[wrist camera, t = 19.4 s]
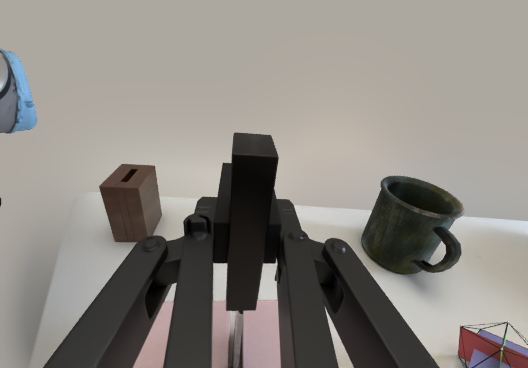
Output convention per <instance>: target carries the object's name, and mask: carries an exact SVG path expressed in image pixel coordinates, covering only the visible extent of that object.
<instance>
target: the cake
mask: <svg viewBox="0 0 528 368" xmlns="http://www.w3.org/2000/svg"><path fill="white" fill-rule="evenodd" d="M173 303H174V301H171V302H164V303H163V305H162V307H161V309H160V311H159V313H158V315H157V317H156V320H155V322H154V324H153V326H152V328H151V330H150V332H149V334H148V337H147V339H146V341H145V343H144V345H143V347H142V349H141V351H140V354H139V356H138V358H137V360H136V362H135V364H134V366H133V368H163V364H164V358H165V352H166V346H167V340H168V334H169V327H170V321H171V315H172V309H173ZM229 329H230V311H226V301H213V332H212V368H228V353H229Z"/></svg>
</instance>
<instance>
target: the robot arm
mask: <svg viewBox="0 0 528 368" xmlns="http://www.w3.org/2000/svg"><path fill="white" fill-rule="evenodd" d="M32 101H33V100H32V95H31V91H30V88H29V84H28V81H27V78H26V75H25V72H24V69H23V66H22V63H21V61H20V59H19V58H18V56H17V55H16V54H15V53H13V52H10V51H5V50H2V49H0V133H13V132H15V131H23V130H30V129H32V128H34V127H35V125H36V123H37V117H36V111H35V107H34V104H33V102H32ZM231 164H232V163H223V165H222V172H221V178H220V184H219V191H218V197H202V198H201V199H200V200H198V201H197V205H196V208H195V213H194V214H192V215H189V216H188V217H187V218H185V220H184V222H183V223H184V236H183V237H181V238H179V239H175V240H171V241H166V239H165V238H163V237H161V236H149V237H145V238H143V239H141V240H140V241H139V242H138V243H137V244H136V245H135V246H134V248H133V249H132V250H131V252H130V253H129V254H128V256H127V257H126V258H125V260H124V261H123V262H122V264H121V265H120V266H119V268H118V269H117V270H116V272H115V273H114V274H113V275H112V277H111V278H110V279H109V281H108V282H107V283H106V285H105V286H104V287H103V289H102V290H101V291H100V293H99V294H98V295H97V297H96V298H95V299H94V301H93V302H92V303H91V305H90V306H89V307H88V309H87V310H86V311H85V313H84V314H83V315H82V317H81V318H80V319H79V320H78V322H77V323H76V324H75V326H74V327H73V328H72V330H71V331H70V332H69V334H68V335H67V336H66V338H65V339H64V340H63V342H62V343H61V344H60V346H59V347H58V348H57V350H56V351H55V352H54V354H53V355H52V356H51V358H50V359H49V360H48V362H47V363H46V364H45V366H44V367H43V368H133V366H134V364H135V362H136V360H137V358H138V356H139V354H140V351H141V349H142V347H143V345H144V343H145V341H146V339H147V337H148V334H149V332H150V330H151V328H152V326H153V324H154V322H155V320H156V317H157V315H158V313H159V311H160V309H161V307H162V305H163V303H164V300H165V298H166V296H167V294H168V292H169V290H170V288H171V285H172V284H174V283H177V285H176V291H175V297H174V303H173V309H172V315H171V321H170V327H169V334H168V340H167V346H166V352H165V358H164V364H163V368H212V332H213V262H214V263H228V239H229V214H230V189H231ZM276 257H277V263H278V265H277V270H276V275H275V280H274V281H277V296H278V317H279V338H280V359H281V368H339V367H338V363H337V359H336V354H335V350H334V345H333V341H332V337H331V332H330V328H329V324H328V319H327V315H326V311H325V307H326V309H327V312H328V314H329V316H330V318H331V320H332V322H333V324H334V326H335V328H336V330H337V333H338V335H339V337H340V339H341V341H342V343H343V345H344V347H345V349H346V351H347V354H348V356H349V358H350V360H351V362H352V364H353V366H354V368H439V366H438V365H437V364H436V362H435V361H434V359H433V358H432V357H431V355H430V354H429V353H428V351H427V350H426V349H425V347H424V346H423V345H422V343H421V342H420V341H419V339H418V338H417V336H416V335H415V334H414V332H413V331H412V330H411V328H410V327H409V326H408V324H407V323H406V322H405V320H404V319H403V317H402V316H401V315H400V313H399V312H398V311H397V309H396V308H395V307H394V305H393V304H392V303H391V301H390V300H389V299H388V297H387V296H386V294H385V293H384V292H383V290H382V289H381V288H380V286H379V285H378V284H377V282H376V281H375V280H374V278H373V277H372V275H371V274H370V273H369V271H368V270H367V269H366V267H365V266H364V265H363V263H362V262H361V261H360V259H359V258H358V257H357V255H356V254H355V252H354V251H353V250H352V248H351V247H350V246H349V245H348V244H347V243H346V242H344V241H343V240H340V239H337V238H330V239H327V240H326V241H325V244H324V243H320V242H316V241H313V240H311V239H309V237H308V235H307V234H306V233H305V232H304V231H302V229H301V226H300V223H299V220H298V217H297V215H296V211H295V208H294V205H293V204H292V203H291V202H290V201H289V200H286V199H276V195H275V190H274V192H273V199H272V206H271V213H270V219H269V226H268V233H267V240H266V246H265V253H264V260H263V263H275V262H276ZM324 305H325V306H324Z"/></svg>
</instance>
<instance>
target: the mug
mask: <svg viewBox="0 0 528 368" xmlns="http://www.w3.org/2000/svg"><path fill="white" fill-rule="evenodd" d="M381 188H382V189H381V191H380V194H379V196H378V199H377V201H376V203H375V206H374V208H373V210H372V213H371V215H370V218H369V220H368V222H367V225H366V227H365V230H364V232H363V234H362V243H363V246H364V248H365V250H366V252H367V253H368V254H369V255H370V256H371V257H372V258H373V259H374V260H375V261H376V262H378V263H379V264H380V265H382V266H384V267H386V268H388V269H390V270H392V271H395V272H398V273H403V274H412V273H417V272H420V271H421V270H424V271H427V272H431V273H435V272H443V271H445V270H447V269H450V268H451V267H452V266H454V265H455V264H456V263H457V262H458V260H459V258H460V256H461V245H460V243H459V242H458V240H457V239H456V238H455V236H454V235H453V234H452V233H451V232H449V231H448V230H449V228H450V227H451V225H452V224H453V222H454V221H455V219H457V218H460V217H461V216H463V214H464V211H465V210H464V207H463V205H462V204H461V202H460V201H459V200H458V199H457V198H455V197H454V196H453V195H451V194H450V193H448V192H447V191H445V190H443V189H441V188H439V187H437V186H435V185H433V184H430V183H428V182H425V181H422V180H419V179H415V178H410V177H405V176H389V177H386V178H384V179H383V180H382V181H381ZM441 241H443V243H444V244H445V245H446V254H445V256H444V258H443V260H442V261H440V262H439V263H438V264H435V265H431V264H429V263H428V261H429V259H430V258H431V256H432V255H433V253H434V251H435V250H436V248H437V247H438V245H439V244H440V242H441Z"/></svg>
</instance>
